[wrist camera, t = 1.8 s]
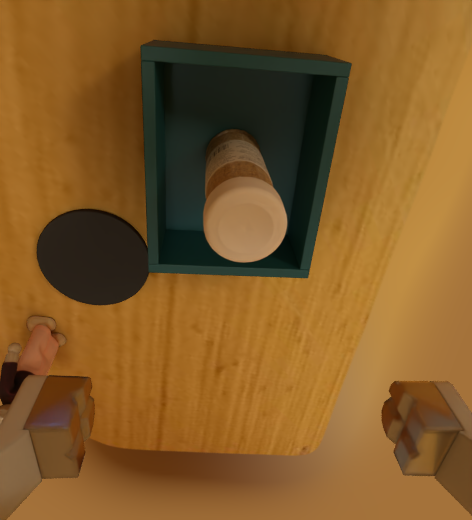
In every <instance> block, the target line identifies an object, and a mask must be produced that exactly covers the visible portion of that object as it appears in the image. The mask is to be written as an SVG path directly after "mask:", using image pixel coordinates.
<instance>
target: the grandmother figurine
mask: <svg viewBox="0 0 472 520" xmlns="http://www.w3.org/2000/svg"><path fill="white" fill-rule="evenodd" d="M27 327H28V329H29V330H30V331H31V332H32V334H31V337H30V339H29V340H28V342H27V345H26V347H25V349H24V351H23V353H22V355H21V356H20V358H19V353H20V351H21V345H20V344H18V343H12V344H11V345H9V347H8V354H7V355H6V357H5V361H4V363H3V365H2V370H1V379H0V399H1V401H2V404H3V405H2V406H0V424H1V422H2V420H3V418H4V417H5V415H6V413H7V411H8V409H9V407H10V405H11V403H12V401H13V399H14V398H15V396H16V394H17V392H18V390H19V388H20V386H21V384H22V382H23V380H24V379H25V378H26V377H27V376H28V375H45V376H46V375H47V373H48V371H49V369H50V367H51V365H52V362H53V360H54V357H55V355H56V353H57V350H58V347H60V346H62V345H64V344H65V343H66V338H65V337H64V336H63V335H62V334H60V333H54V334H51V331H52V330H54V329H55V328H56V323H55V321H54V320H53V319H52V318H48V317H40V316H32V317H30V318H28V320H27ZM18 359H19V360H18Z"/></svg>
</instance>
